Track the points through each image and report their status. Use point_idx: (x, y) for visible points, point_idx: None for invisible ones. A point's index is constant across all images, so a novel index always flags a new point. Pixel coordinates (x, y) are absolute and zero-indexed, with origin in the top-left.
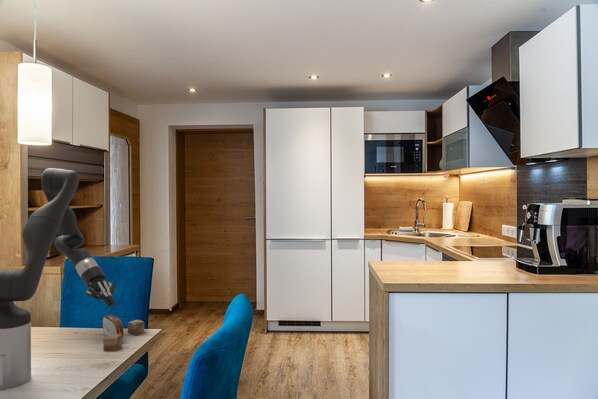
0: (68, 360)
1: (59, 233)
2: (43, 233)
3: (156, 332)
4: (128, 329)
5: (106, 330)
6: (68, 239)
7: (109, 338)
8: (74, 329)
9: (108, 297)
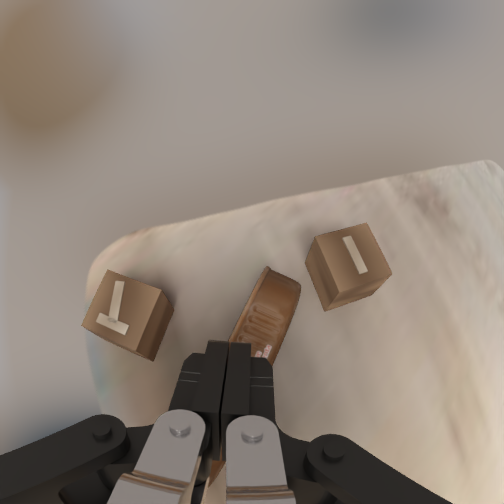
0: (473, 332)
1: None
2: None
3: (116, 243)
4: (150, 351)
5: None
6: None
7: (379, 248)
8: None
9: (240, 403)
